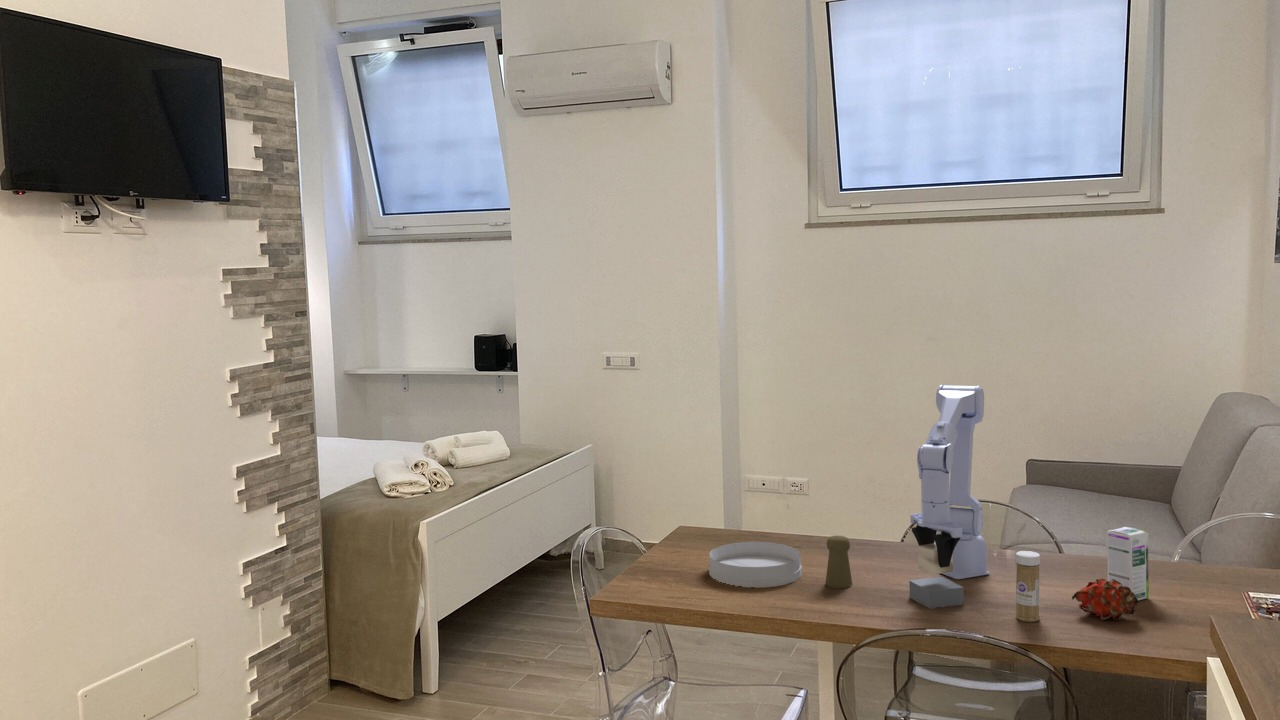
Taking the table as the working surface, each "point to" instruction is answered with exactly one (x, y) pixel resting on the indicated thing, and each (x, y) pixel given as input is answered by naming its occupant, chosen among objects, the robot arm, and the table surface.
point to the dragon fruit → (1106, 599)
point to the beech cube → (931, 560)
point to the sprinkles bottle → (1027, 586)
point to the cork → (838, 562)
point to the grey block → (936, 592)
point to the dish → (755, 564)
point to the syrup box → (1129, 559)
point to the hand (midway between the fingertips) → (935, 563)
